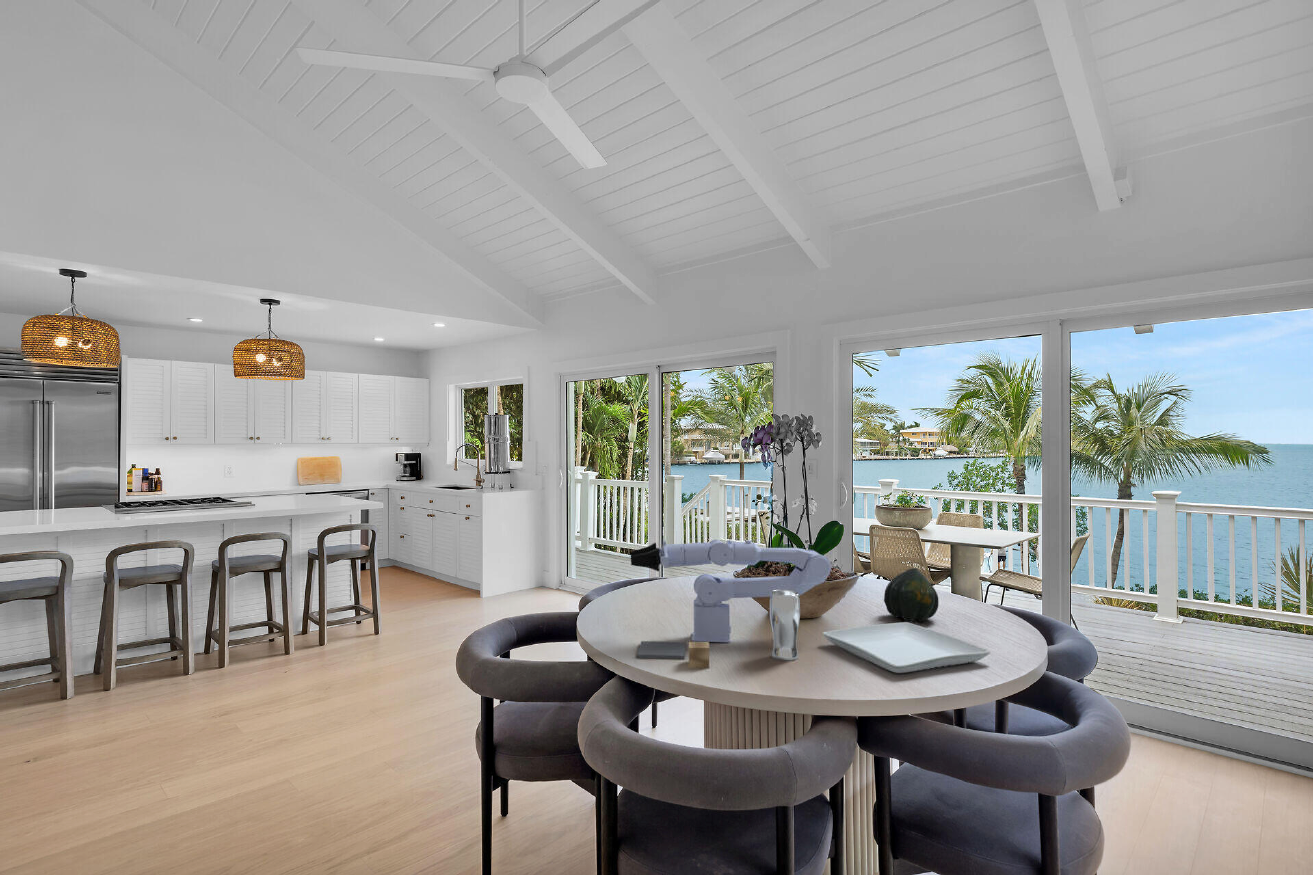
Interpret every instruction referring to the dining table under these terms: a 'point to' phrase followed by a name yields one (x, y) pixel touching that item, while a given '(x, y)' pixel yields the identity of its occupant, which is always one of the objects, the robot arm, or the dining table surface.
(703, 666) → the oak cube
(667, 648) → the charcoal mat
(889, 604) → the squash
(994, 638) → the dining table surface
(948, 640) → the square plate
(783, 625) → the beer glass
